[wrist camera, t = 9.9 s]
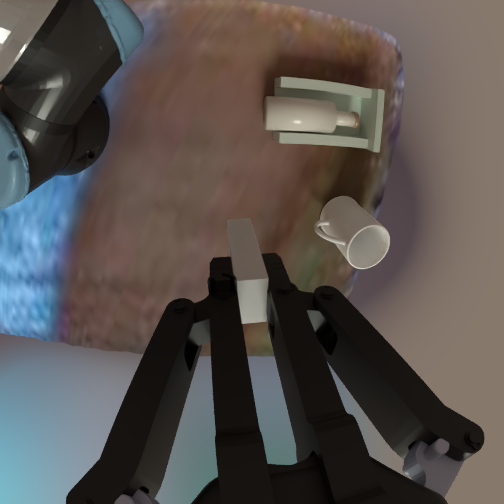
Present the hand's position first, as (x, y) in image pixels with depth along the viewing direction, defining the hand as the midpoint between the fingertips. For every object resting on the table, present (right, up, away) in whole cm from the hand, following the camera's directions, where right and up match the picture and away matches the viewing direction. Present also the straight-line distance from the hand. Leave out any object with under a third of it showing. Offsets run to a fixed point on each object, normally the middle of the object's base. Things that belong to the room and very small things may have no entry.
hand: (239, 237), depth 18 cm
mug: (+16, +6, +32) cm, 37 cm away
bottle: (+3, +19, +18) cm, 26 cm away
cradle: (+12, +22, +22) cm, 33 cm away
